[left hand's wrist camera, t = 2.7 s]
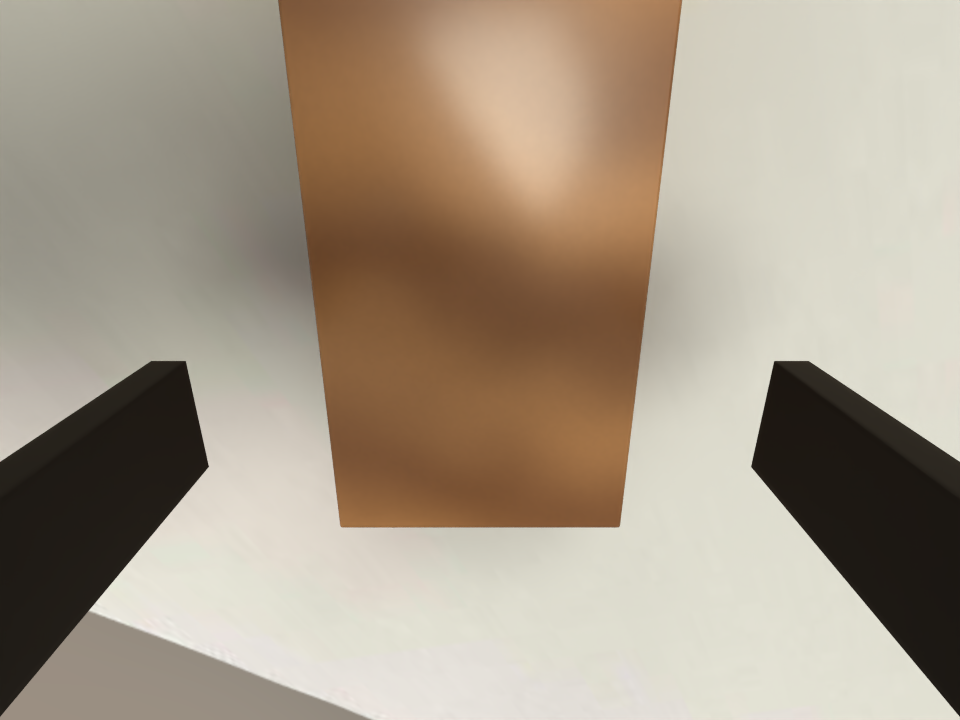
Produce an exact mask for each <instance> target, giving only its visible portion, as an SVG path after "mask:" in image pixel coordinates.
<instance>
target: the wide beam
mask: <svg viewBox="0 0 960 720" xmlns="http://www.w3.org/2000/svg"><path fill="white" fill-rule="evenodd" d="M278 3H279V11H280V19H281V28H282V36H283V45H284V53H285V62H286V70H287V79H288V87H289V96H290V104H291V112H292V121H293V129H294V138H295V146H296V155H297V163H298V172H299V180H300V189H301V197H302V205H303V214H304V222H305V231H306V239H307V248H308V256H309V265H310V273H311V282H312V290H313V299H314V307H315V315H316V324H317V332H318V341H319V349H320V358H321V366H322V375H323V383H324V392H325V400H326V408H327V417H328V425H329V434H330V442H331V451H332V459H333V468H334V476H335V485H336V493H337V501H338V510H339V518H340V526H341V527H619V526H620V521H621V512H622V504H623V495H624V487H625V479H626V470H627V462H628V453H629V445H630V436H631V428H632V419H633V411H634V403H635V394H636V386H637V377H638V369H639V360H640V352H641V343H642V335H643V327H644V318H645V310H646V301H647V293H648V284H649V276H650V267H651V259H652V251H653V242H654V234H655V225H656V217H657V208H658V200H659V192H660V183H661V175H662V166H663V158H664V149H665V141H666V132H667V124H668V116H669V107H670V99H671V90H672V82H673V73H674V65H675V56H676V48H677V40H678V31H679V23H680V14H681V6H682V0H278Z"/></svg>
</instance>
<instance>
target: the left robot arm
mask: <svg viewBox="0 0 960 720" xmlns="http://www.w3.org/2000/svg"><path fill="white" fill-rule="evenodd" d="M208 467H209V466H208V461H207V456H206V452H205V447H204V443H203V438H202V434H201V429H200V424H199V420H198V415H197V411H196V406H195V402H194V397H193V392H192V388H191V383H190V379H189V374H188V370H187V365H186V361H151V362H149V363H148V364H146V365H145V366H143V367H142V368H140V369H139V370H137V371H136V372H134V373H133V374H131V375H130V376H128V377H127V378H125V379H124V380H122V381H121V382H119V383H118V384H116V385H115V386H113V387H112V388H110V389H109V390H107V391H106V392H104V393H103V394H101V395H100V396H98V397H97V398H95V399H94V400H92V401H91V402H89V403H88V404H86V405H85V406H83V407H82V408H80V409H79V410H77V411H76V412H74V413H73V414H71V415H70V416H68V417H67V418H65V419H64V420H62V421H61V422H59V423H58V424H56V425H55V426H53V427H52V428H50V429H49V430H47V431H46V432H44V433H43V434H41V435H40V436H38V437H37V438H35V439H34V440H32V441H31V442H29V443H28V444H26V445H25V446H23V447H22V448H20V449H19V450H17V451H16V452H14V453H13V454H11V455H10V456H8V457H7V458H5V459H4V460H2V461H1V462H0V716H1V715H2V714H3V713H4V711H5V710H6V709H7V708H8V707H9V705H10V704H11V703H12V702H13V701H14V699H15V698H16V697H17V696H18V695H19V693H20V692H21V691H22V690H23V689H24V687H25V686H26V685H27V684H28V683H29V681H30V680H31V679H32V678H33V677H34V675H35V674H36V673H37V672H38V671H39V669H40V668H41V667H42V666H43V665H44V664H45V662H46V661H47V660H48V659H49V657H50V656H51V655H52V654H53V653H54V651H55V650H56V649H57V648H58V647H59V645H60V644H61V643H62V642H63V641H64V639H65V638H66V637H67V636H68V635H69V634H70V632H71V631H72V630H73V629H74V628H75V626H76V625H77V624H78V623H79V622H80V620H81V619H82V618H83V617H84V616H85V614H86V613H87V612H88V611H89V610H90V608H91V607H92V606H93V605H94V604H95V602H96V601H97V600H98V599H99V598H100V596H101V595H102V594H103V593H104V592H105V590H106V589H107V588H108V587H109V586H110V584H111V583H112V582H113V581H114V580H115V578H116V577H117V576H118V575H119V574H120V572H121V571H122V570H123V569H124V568H125V566H126V565H127V564H128V563H129V562H130V561H131V559H132V558H133V557H134V556H135V555H136V553H137V552H138V551H139V550H140V549H141V547H142V546H143V545H144V544H145V543H146V541H147V540H148V539H149V538H150V537H151V535H152V534H153V533H154V532H155V531H156V529H157V528H158V527H159V526H160V525H161V523H162V522H163V521H164V520H165V519H166V517H167V516H168V515H169V514H170V513H171V511H172V510H173V509H174V508H175V507H176V505H177V504H178V503H179V502H180V501H181V499H182V498H183V497H184V496H185V495H186V493H187V492H188V491H189V490H190V489H191V487H192V486H193V485H194V484H195V483H196V481H197V480H198V479H199V478H200V477H201V475H202V474H203V473H204V472H205V471H206V469H207V468H208ZM751 467H752V468H753V469H754V471H755V472H756V473H757V474H758V475H759V477H760V478H761V479H762V480H763V481H764V483H765V484H766V485H767V486H768V487H769V489H770V490H771V491H772V492H773V493H774V495H775V496H776V497H777V498H778V499H779V501H780V502H781V503H782V504H783V505H784V507H785V508H786V509H787V510H788V511H789V513H790V514H791V515H792V516H793V517H794V519H795V520H796V521H797V522H798V523H799V525H800V526H801V527H802V528H803V529H804V531H805V532H806V533H807V534H808V535H809V537H810V538H811V539H812V540H813V541H814V543H815V544H816V545H817V546H818V547H819V549H820V550H821V551H822V552H823V553H824V555H825V556H826V557H827V558H828V559H829V561H830V562H831V563H832V564H833V565H834V567H835V568H836V569H837V570H838V571H839V572H840V574H841V575H842V576H843V577H844V578H845V580H846V581H847V582H848V583H849V584H850V586H851V587H852V588H853V589H854V590H855V592H856V593H857V594H858V595H859V596H860V598H861V599H862V600H863V601H864V602H865V604H866V605H867V606H868V607H869V608H870V610H871V611H872V612H873V613H874V614H875V616H876V617H877V618H878V619H879V620H880V622H881V623H882V624H883V625H884V626H885V628H886V629H887V630H888V631H889V632H890V634H891V635H892V636H893V637H894V638H895V640H896V641H897V642H898V643H899V644H900V646H901V647H902V648H903V649H904V650H905V652H906V653H907V654H908V655H909V656H910V658H911V659H912V660H913V661H914V662H915V664H916V665H917V666H918V667H919V668H920V669H921V671H922V672H923V673H924V674H925V675H926V677H927V678H928V679H929V680H930V681H931V683H932V684H933V685H934V686H935V687H936V689H937V690H938V691H939V692H940V693H941V695H942V696H943V697H944V698H945V699H946V701H947V702H948V703H949V704H950V705H951V707H952V708H953V709H954V710H955V711H956V713H957V714H958V715H959V716H960V462H959V461H958V460H956V459H955V458H953V457H952V456H950V455H949V454H947V453H946V452H944V451H943V450H941V449H940V448H938V447H937V446H935V445H934V444H932V443H931V442H929V441H928V440H926V439H925V438H923V437H922V436H920V435H919V434H917V433H916V432H914V431H913V430H911V429H910V428H908V427H907V426H905V425H904V424H902V423H901V422H899V421H898V420H896V419H895V418H893V417H892V416H890V415H889V414H887V413H886V412H884V411H883V410H881V409H880V408H878V407H877V406H875V405H874V404H872V403H871V402H869V401H868V400H866V399H865V398H863V397H862V396H860V395H859V394H857V393H856V392H854V391H853V390H851V389H850V388H848V387H847V386H845V385H844V384H842V383H841V382H839V381H838V380H836V379H835V378H833V377H832V376H830V375H829V374H827V373H826V372H824V371H823V370H821V369H820V368H818V367H817V366H815V365H814V364H812V363H811V362H809V361H774V365H773V370H772V374H771V379H770V383H769V388H768V392H767V397H766V402H765V406H764V411H763V415H762V420H761V424H760V429H759V434H758V438H757V443H756V447H755V452H754V456H753V461H752V466H751Z"/></svg>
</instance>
